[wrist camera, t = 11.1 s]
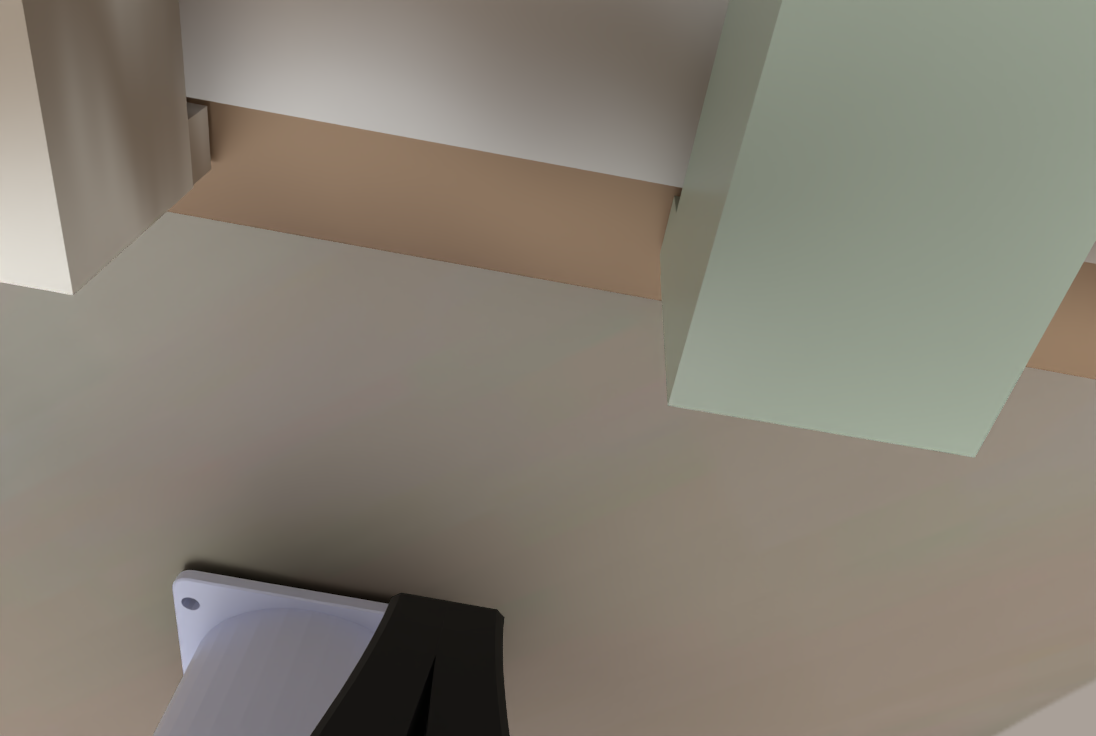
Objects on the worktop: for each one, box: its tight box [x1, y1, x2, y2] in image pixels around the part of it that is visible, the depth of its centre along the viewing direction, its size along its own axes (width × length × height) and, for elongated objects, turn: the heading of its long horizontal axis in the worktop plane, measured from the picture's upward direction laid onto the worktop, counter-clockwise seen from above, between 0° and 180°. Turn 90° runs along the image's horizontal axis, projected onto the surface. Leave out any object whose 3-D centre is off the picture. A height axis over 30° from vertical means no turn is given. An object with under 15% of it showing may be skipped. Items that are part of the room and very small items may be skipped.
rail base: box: [0, 0, 1096, 379], centre depth 13 cm, size 9×24×6 cm, turn 81°
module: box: [660, 0, 1096, 458], centre depth 12 cm, size 7×4×5 cm, turn 171°
